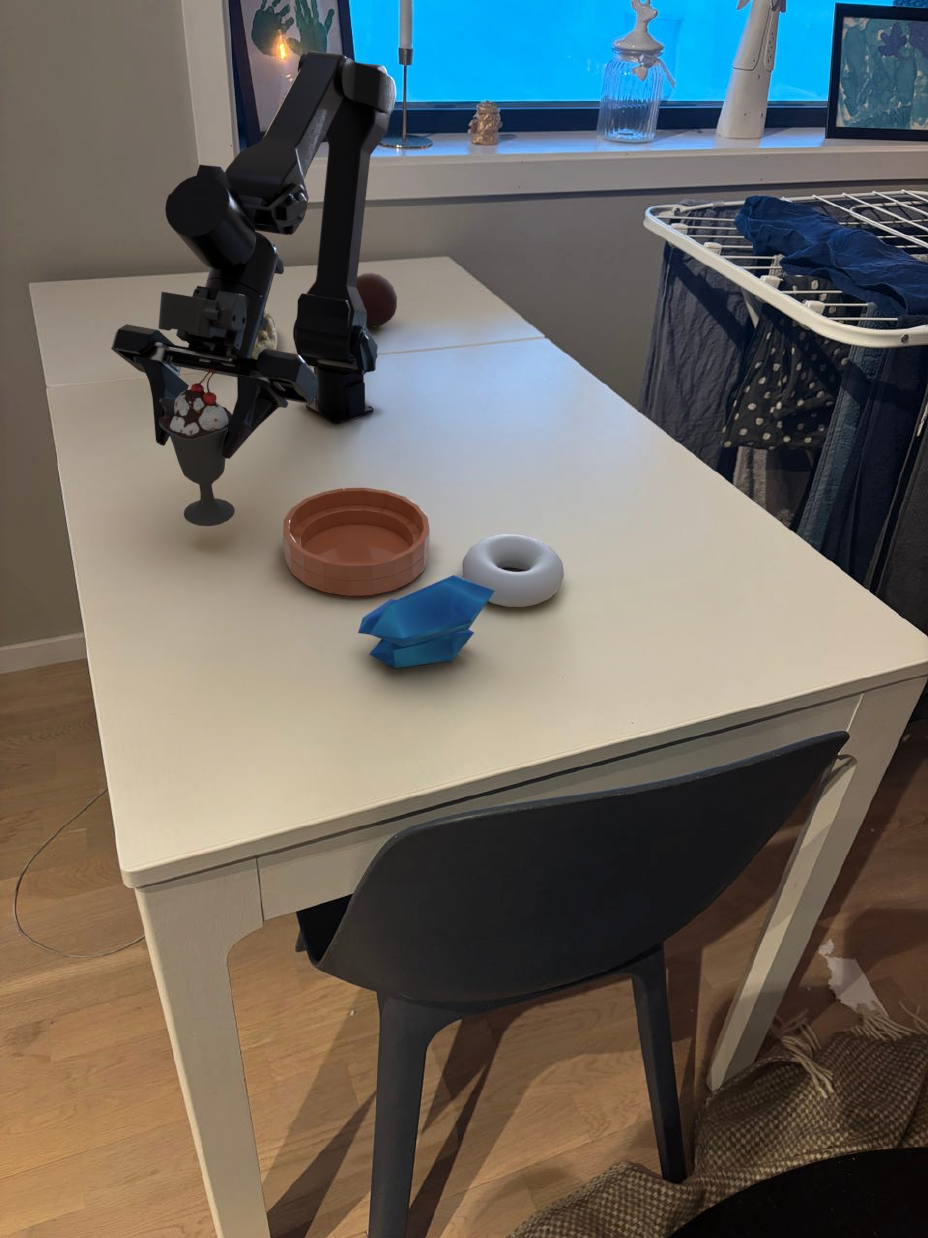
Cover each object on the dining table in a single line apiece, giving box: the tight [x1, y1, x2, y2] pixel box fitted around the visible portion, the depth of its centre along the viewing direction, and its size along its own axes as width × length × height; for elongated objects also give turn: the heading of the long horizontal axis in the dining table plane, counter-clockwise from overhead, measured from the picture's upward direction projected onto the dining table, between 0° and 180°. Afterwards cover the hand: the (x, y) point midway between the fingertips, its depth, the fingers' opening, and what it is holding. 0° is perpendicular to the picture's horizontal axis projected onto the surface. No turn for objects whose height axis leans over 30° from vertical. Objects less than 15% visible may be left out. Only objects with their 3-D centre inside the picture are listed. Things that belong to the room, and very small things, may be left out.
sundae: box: [159, 369, 236, 527], centre depth 88 cm, size 7×7×15 cm
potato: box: [356, 272, 398, 328], centre depth 142 cm, size 8×9×8 cm
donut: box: [461, 533, 565, 608], centre depth 91 cm, size 10×4×10 cm
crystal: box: [357, 574, 494, 669], centre depth 80 cm, size 7×9×12 cm
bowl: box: [282, 487, 431, 597], centre depth 93 cm, size 14×14×4 cm
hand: (192, 450), depth 87 cm, fingers closed on sundae, 6 cm apart
